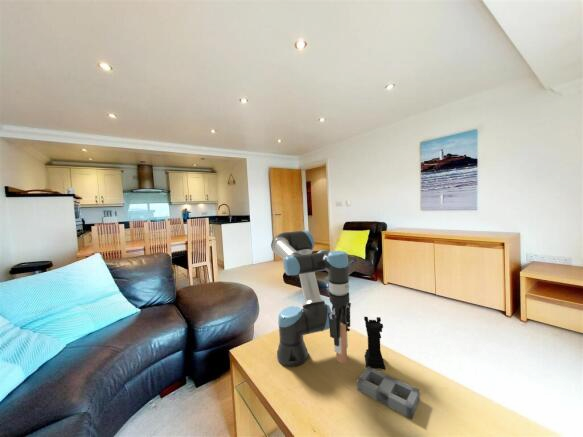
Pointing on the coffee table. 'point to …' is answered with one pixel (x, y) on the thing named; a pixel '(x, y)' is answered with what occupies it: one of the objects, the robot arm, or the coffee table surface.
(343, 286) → the robot arm
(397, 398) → the socket board
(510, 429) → the coffee table surface
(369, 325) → the chess piece
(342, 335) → the dowel
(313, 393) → the coffee table surface
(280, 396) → the coffee table surface
